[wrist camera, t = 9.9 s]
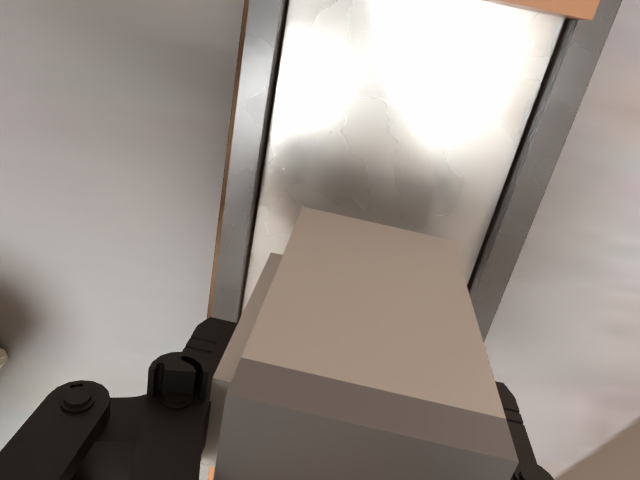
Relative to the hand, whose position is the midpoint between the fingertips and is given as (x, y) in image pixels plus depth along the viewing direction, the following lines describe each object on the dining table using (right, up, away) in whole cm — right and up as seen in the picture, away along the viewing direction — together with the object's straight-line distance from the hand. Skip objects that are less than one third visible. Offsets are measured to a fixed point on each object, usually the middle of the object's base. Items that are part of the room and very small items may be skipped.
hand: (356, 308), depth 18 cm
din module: (0, 0, 0) cm, 0 cm away
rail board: (+1, +2, +5) cm, 5 cm away
